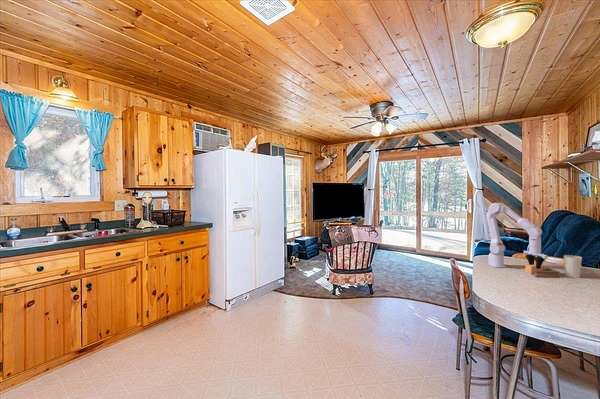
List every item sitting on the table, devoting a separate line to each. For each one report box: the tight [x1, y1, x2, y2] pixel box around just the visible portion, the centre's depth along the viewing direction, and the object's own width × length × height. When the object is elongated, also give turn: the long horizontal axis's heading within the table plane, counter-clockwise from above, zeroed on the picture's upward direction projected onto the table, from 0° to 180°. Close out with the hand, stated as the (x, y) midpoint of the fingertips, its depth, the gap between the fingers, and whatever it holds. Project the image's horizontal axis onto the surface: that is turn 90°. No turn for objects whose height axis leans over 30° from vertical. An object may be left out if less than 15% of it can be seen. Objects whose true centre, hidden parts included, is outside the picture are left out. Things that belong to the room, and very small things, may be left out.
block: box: [525, 264, 544, 275], centre depth 175 cm, size 8×4×5 cm, turn 94°
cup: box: [563, 254, 583, 279], centre depth 168 cm, size 8×8×12 cm
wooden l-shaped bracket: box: [534, 265, 561, 279], centre depth 173 cm, size 14×13×4 cm
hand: (535, 267), depth 175 cm, fingers closed on block, 4 cm apart
